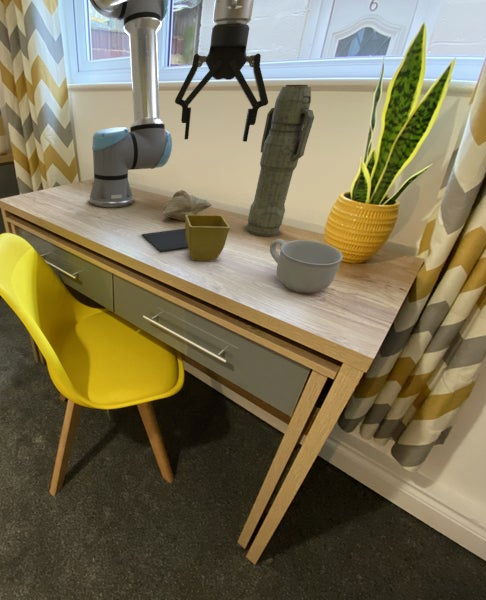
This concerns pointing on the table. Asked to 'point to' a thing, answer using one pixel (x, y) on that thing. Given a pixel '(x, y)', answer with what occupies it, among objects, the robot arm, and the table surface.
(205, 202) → the seashell
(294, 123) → the thermos
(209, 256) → the flower pot
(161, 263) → the table surface
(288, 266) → the teacup
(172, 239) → the mat
